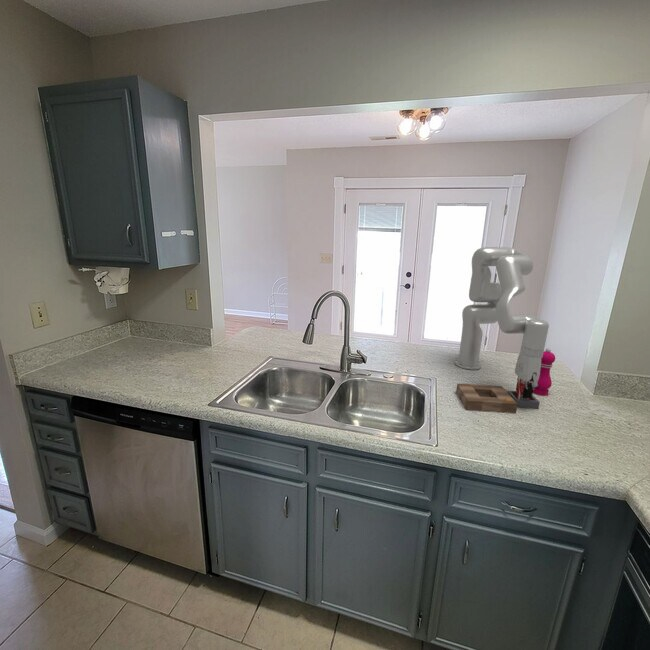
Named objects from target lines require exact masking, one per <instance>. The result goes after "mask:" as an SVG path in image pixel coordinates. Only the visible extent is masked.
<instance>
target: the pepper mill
mask: <svg viewBox="0 0 650 650" xmlns="http://www.w3.org/2000/svg"><path fill="white" fill-rule="evenodd" d="M551 351H552V350H551V348H546V349H545V350H544V352H543V357H542V358H541V369H540V375H539V379H538V382H537V384H538V386H537V387H535V388H534V390H533V393H532V394H536V395H538V396H548V395H549V389H550V388H551V387H552V384H553V382H552V378H551V373H550V372H551V368H553V363H555V361H556V355H555V354H554V353H553V352H551Z"/></svg>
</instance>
